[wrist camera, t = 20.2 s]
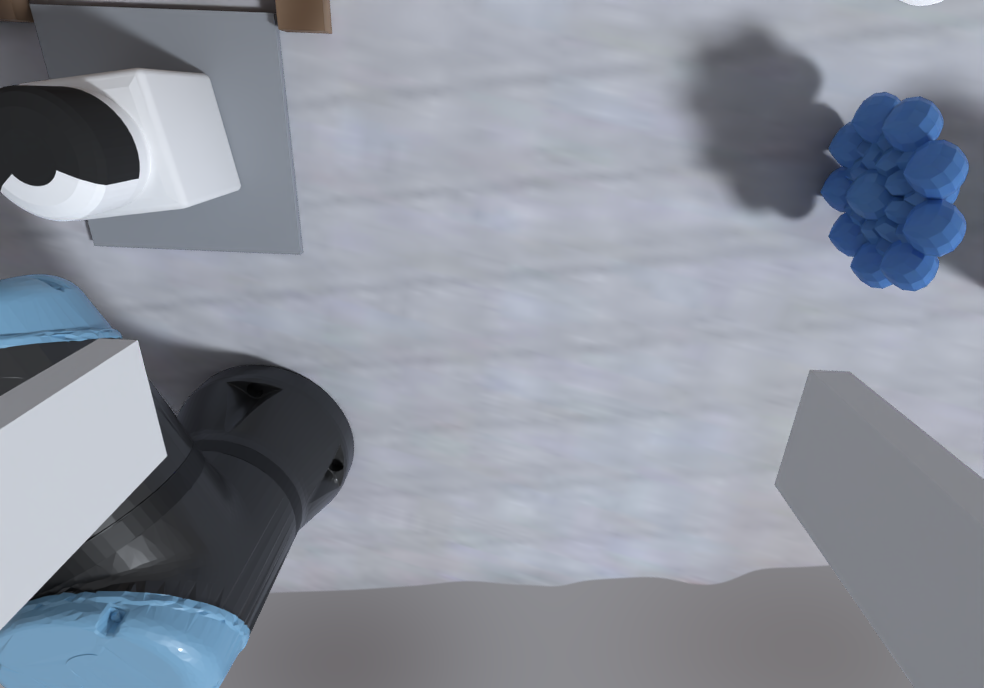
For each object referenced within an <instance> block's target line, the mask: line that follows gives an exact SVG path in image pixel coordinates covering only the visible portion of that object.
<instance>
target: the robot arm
mask: <svg viewBox="0 0 984 688" xmlns="http://www.w3.org/2000/svg"><path fill="white" fill-rule="evenodd" d="M121 338H122V335H121V333H120V332H119V331H118V330H116V329H113V328H112V327H111V326H110V325H109V323H108V322H107V321H106V320H105V319H104V317H103V316H102V315H101V314H100V312H99V311H98V310H97V309H96V308H95V306H94V305H93V304H92V303H91V302H90V300H89V299H88V298H87V297H86V295H85V294H84V293H83V291H82V290H81V289H80V288H79V287H77V286H76V285H75V284H73V283H72V282H70V281H68V280H66V279H63V278H61V277H57V276H53V275H46V274H32V275H24V276H18V277H13V278H7V279H2V280H0V684H1V685H2V686H3V687H5V688H219V687H220V685H221V683H222V682H223V680H224V678H225V676H226V675H227V673H228V671H229V669H230V668H231V666H232V664H233V662H234V660H235V659H236V657H237V655H238V653H239V652H241V651H242V650H243V649H244V647H245V646H246V644H247V642H248V639H249V635H250V633H251V631H252V629H253V627H254V624H255V622H256V620H257V618H258V616H259V614H260V612H261V610H262V607H263V605H264V603H265V601H266V599H267V597H268V594H269V592H270V590H271V588H272V586H273V584H274V582H275V580H276V577H277V575H278V573H279V571H280V569H281V567H282V565H283V562H284V560H285V558H286V556H287V554H288V552H289V550H290V547H291V545H292V543H293V541H294V539H295V537H296V535H297V532H298V531H299V529H301V528H302V527H303V526H304V525H305V524H306V523H307V522H308V521H310V520H311V519H312V518H313V517H314V516H315V515H316V514H317V513H318V512H320V511H321V510H322V509H323V508H324V507H325V506H326V505H327V504H329V503H330V502H331V501H332V500H333V498H334V497H335V496H336V495H337V493H338V492H339V490H340V489H341V487H342V485H343V484H344V481H345V479H346V477H347V474H348V472H349V470H350V467H351V464H352V461H353V455H354V441H353V436H352V431H351V428H350V426H349V423H348V421H347V419H346V417H345V415H344V413H343V412H342V410H341V409H340V407H339V406H338V405H337V404H336V402H335V401H334V400H333V399H332V398H331V397H330V396H329V395H328V394H327V393H326V392H325V391H324V390H322V389H321V388H320V387H318V386H317V385H316V384H314V383H313V382H311V381H309V380H308V379H306V378H304V377H302V376H300V375H298V374H295V373H293V372H290V371H287V370H284V369H280V368H276V367H271V366H262V365H248V366H240V367H235V368H231V369H228V370H225V371H222V372H220V373H218V374H216V375H214V376H213V377H211V378H210V379H208V380H207V381H206V382H205V383H204V384H203V385H202V386H200V387H199V388H198V389H197V390H196V391H195V392H194V393H193V394H192V395H191V396H190V397H189V398H188V399H187V401H186V402H185V403H184V405H183V406H182V408H181V410H180V412H179V414H178V416H177V417H176V416H175V414H174V413H173V412H172V410H171V409H170V408H169V406H168V405H167V403H166V402H165V401H164V399H163V398H162V396H161V395H160V394H159V392H158V391H157V390H156V388H155V387H154V385H153V384H152V383H151V381H150V380H149V379H148V377H147V374H146V370H145V366H144V362H143V358H142V354H141V351H140V347H139V343H138V340H125V339H121ZM775 486H776V488H777V489H778V490H779V492H780V493H781V495H782V496H783V498H784V499H785V501H786V502H787V504H788V505H789V506H790V508H791V509H792V511H793V512H794V514H795V515H796V517H797V518H798V520H799V521H800V523H801V524H802V525H803V527H804V528H805V530H806V531H807V533H808V534H809V536H810V537H811V539H812V540H813V541H814V543H815V544H816V546H817V547H818V549H819V550H820V552H821V553H822V555H823V556H824V557H825V559H826V560H827V562H828V563H829V565H830V566H831V568H832V569H833V570H834V572H835V573H836V575H837V576H838V578H839V579H840V581H841V582H842V584H843V585H844V587H845V588H846V590H847V591H848V592H849V594H850V595H851V597H852V598H853V600H854V601H855V603H856V604H857V606H858V607H859V608H860V610H861V611H862V613H863V614H864V616H865V617H866V619H867V620H868V622H869V623H870V624H871V626H872V627H873V629H874V630H875V632H876V633H877V635H878V636H879V638H880V639H881V641H882V642H883V643H884V645H885V646H886V648H887V649H888V651H889V652H890V654H891V655H892V657H893V658H894V659H895V661H896V662H897V664H898V665H899V667H900V668H901V670H902V671H903V673H904V674H905V675H906V677H907V678H908V680H909V681H910V683H911V684H912V686H913V687H914V688H984V479H983V478H982V477H980V476H979V475H978V474H977V473H975V472H974V471H973V470H972V469H970V468H969V467H968V466H967V465H965V464H964V463H963V462H962V461H960V460H959V459H958V458H957V457H955V456H954V455H953V454H952V453H950V452H949V451H948V450H947V449H945V448H944V447H943V446H942V445H940V444H939V443H938V442H937V441H935V440H934V439H933V438H932V437H930V436H929V435H928V434H927V433H925V432H924V431H923V430H922V429H920V428H919V427H918V426H917V425H915V424H914V423H913V422H912V421H911V420H909V419H908V418H907V417H906V416H904V415H903V414H902V413H901V412H899V411H898V410H897V409H896V408H894V407H893V406H892V405H891V404H889V403H888V402H887V401H886V400H884V399H883V398H882V397H881V396H879V395H878V394H877V393H876V392H874V391H873V390H872V389H871V388H869V387H868V386H867V385H866V384H864V383H863V382H862V381H861V380H859V379H858V378H857V377H856V376H854V375H853V374H852V373H851V372H846V371H823V370H810V371H809V374H808V377H807V381H806V384H805V387H804V390H803V394H802V397H801V400H800V403H799V407H798V410H797V413H796V416H795V420H794V423H793V426H792V429H791V433H790V436H789V439H788V442H787V446H786V449H785V452H784V455H783V459H782V462H781V465H780V468H779V472H778V475H777V478H776V481H775Z"/></svg>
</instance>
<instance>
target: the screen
mask: <svg viewBox="0 0 984 688" xmlns="http://www.w3.org/2000/svg"><path fill="white" fill-rule="evenodd" d="M275 3H276V12H277V21H278V29H279V30H282V31H286V32H301V33H328V34H332V27H331V13H330V0H275ZM0 21H4V22H31V23H34V19H33V16H32V12H31V8H30V4H29V0H0Z"/></svg>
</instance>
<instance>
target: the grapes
mask: <svg viewBox="0 0 984 688" xmlns="http://www.w3.org/2000/svg"><path fill="white" fill-rule="evenodd" d="M943 124H944V120H943V117H942V114H941V112H940V110H939V109H938V108H937V107H936V106H935V104H934V103H933V102H932V101H930V100H927V99H925V98H923V97H920V96H919V97H911V98H906V99H904V100H903V101H900V100H899V99H898V97H897V96H894V95H892V94H890V93H887V92H882V93H875V94H873V95H871V96H870V97H869V98H867V99H866V100H864V101H863V103H862V104H861V105H860V107H859V108H858V109H857V111H856V113H855V115H854V117H853V120H852V122H849V123H847V124H846V125H845V126H843V127H842V128H840V130H839V131H838V132H837V134H836V135H835V136H834V138H833V140H832V142H831V144H830V146H829V148H828V149H829V151H830V152H831V154H832V156H833V157H834V158H835V159H836V161H837V162H838V163H839V164H840V165H841V166H843V167H839V168H838V169H836V170H835V171H833V172H832V173H831V174H830V176H829V177H828V178H827V180H826V181H825V183H824V185H823V187H822V190H821V194H822V196H823V197H824V199H825V200H826V201H827V202H828V204H829V205H830V206H831V207H833V208H834V209H836V210H838V211H839V212H846V213H844V214H843V215H841V216H840V217H839V218H838V219H837V221H836V222H835V223H834V225H833V227H832V229H831V231H830V234H829V236H828V237H829V238H830V240H831V242H832V243H833V244H834V245H835V247H836V248H837V249H838V250H839V251H841V252H843V253H844V254H846V255H847V256H850V257H854V258H853V260H852V263H851V266H850V267H851V269H852V270H853V272H854V273H855V274H856V276H857V277H858V278H859V279H860V280H861V281H862V282H864V283H865V284H867V285H868V286H870V287H873V288H882V289H883V288H885V287H888V286H890V285H892V284H894V285H895V286H897V287H899V288H900V289H902V290H909V291H917V290H919V289H921V288H924V287H926V286H927V285H928V284H929V283H930V282H931V281H932V280H933V278H934V277H935V275H936V273H937V270H938V267H939V260H938V258H937V256H938V257H941V256H943V255H945V254H947V253H950V252H952V251H954V249H955V248H956V247H957V246H958V245H959V244H960V243H961V241H962V240H963V237H964V235H965V232H966V224H967V223H966V221H965V218H964V216H963V214H962V213H961V212H960V211H959V210H958V209H957V207H956V206H955V205H953V203H954V202H955V201H956V199H957V197H958V194H959V191H960V186H961V185H962V184H963V183H964V181H965V179H966V176H967V174H968V171H969V163H968V160H967V158H966V155H965V154H964V153H963V152H962V151H961V149H960V148H959V147H958V146H957V145H955V144H953V143H950V142H948V141H946V140H936V139H937V138H938V137H939V135H940V133H941V130H942V128H943Z"/></svg>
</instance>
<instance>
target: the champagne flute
mask: <svg viewBox="0 0 984 688" xmlns="http://www.w3.org/2000/svg"><path fill="white" fill-rule="evenodd" d="M900 1H902V2H904V3H907V4H909V5H916V6H924V5H932V4H935V3H938V2H941V1H943V0H900Z"/></svg>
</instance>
